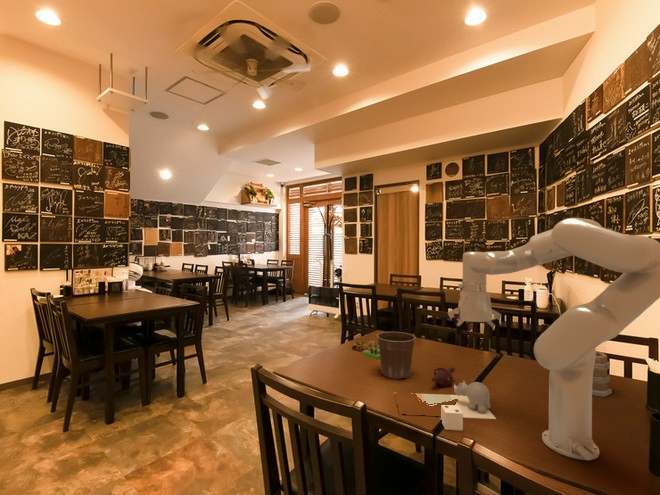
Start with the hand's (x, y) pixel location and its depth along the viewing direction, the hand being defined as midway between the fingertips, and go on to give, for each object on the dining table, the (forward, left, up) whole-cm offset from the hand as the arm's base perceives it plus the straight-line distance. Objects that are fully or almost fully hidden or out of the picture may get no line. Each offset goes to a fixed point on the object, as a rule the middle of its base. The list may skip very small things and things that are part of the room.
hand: (474, 337), depth 115 cm
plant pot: (+25, +24, -23) cm, 41 cm away
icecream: (+15, +7, -23) cm, 28 cm away
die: (-15, +12, -23) cm, 30 cm away
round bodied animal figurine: (-2, +2, -23) cm, 23 cm away
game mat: (-2, +12, -23) cm, 26 cm away
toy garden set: (+58, +29, -24) cm, 69 cm away
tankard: (+17, -44, -23) cm, 53 cm away
